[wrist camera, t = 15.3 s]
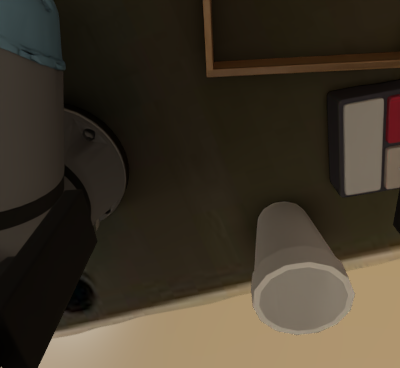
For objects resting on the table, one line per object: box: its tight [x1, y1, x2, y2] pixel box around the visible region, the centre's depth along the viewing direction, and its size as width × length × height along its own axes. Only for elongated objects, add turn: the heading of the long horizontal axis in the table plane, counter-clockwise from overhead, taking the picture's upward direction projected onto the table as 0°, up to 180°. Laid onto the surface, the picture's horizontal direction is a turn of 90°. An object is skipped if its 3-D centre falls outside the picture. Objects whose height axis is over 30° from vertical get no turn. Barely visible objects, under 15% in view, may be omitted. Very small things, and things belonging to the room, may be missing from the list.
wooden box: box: [203, 0, 400, 77], centre depth 32 cm, size 20×11×4 cm, turn 93°
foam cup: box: [251, 201, 355, 335], centre depth 40 cm, size 10×9×13 cm
